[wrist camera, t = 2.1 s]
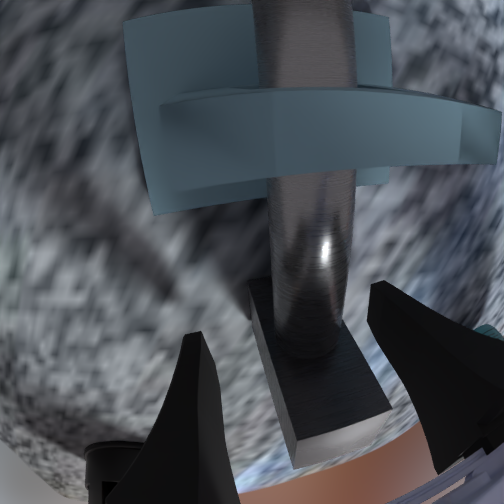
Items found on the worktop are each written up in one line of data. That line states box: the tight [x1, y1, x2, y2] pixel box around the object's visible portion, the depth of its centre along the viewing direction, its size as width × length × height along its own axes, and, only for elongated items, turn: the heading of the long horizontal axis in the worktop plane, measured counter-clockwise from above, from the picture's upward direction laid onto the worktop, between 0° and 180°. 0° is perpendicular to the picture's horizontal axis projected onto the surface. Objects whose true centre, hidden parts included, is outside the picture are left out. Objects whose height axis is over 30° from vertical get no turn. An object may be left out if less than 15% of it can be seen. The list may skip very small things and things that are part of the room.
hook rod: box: [247, 0, 393, 470], centre depth 7 cm, size 13×3×7 cm, turn 4°
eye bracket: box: [123, 4, 502, 216], centre depth 6 cm, size 6×8×6 cm
